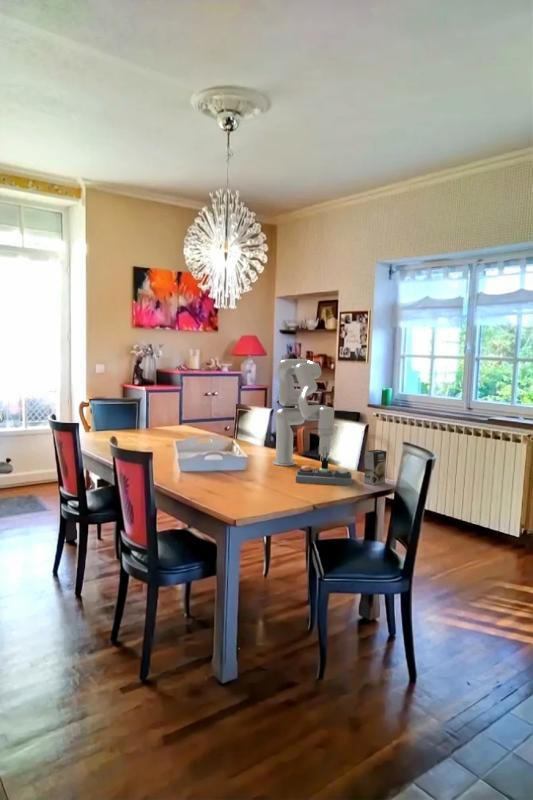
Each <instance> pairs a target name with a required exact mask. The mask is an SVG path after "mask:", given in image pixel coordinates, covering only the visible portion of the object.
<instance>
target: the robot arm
mask: <svg viewBox="0 0 533 800" xmlns="http://www.w3.org/2000/svg"><path fill="white" fill-rule="evenodd" d="M277 375H278V376H277V377H278V403H279V405H280V406H283V407H285V408H280V409H277V410H276V412H275V415H274V418H275V427H276V428H275V429H276V435H275V436H276V438H275V439H276V440H275V441H276V442H275V460H273V461H272V464H273V465H276V466H280V467H281V466H282V467H283V466H285V467H290V466H294V465H296V461H294V460H293V456H294V454H293V453H294V432H293V430H292V428H291V426H296V425H302V424H304V423H305V421H318V426H317V427H318V428H317V429H318V430H317V433H318V436H319V450H318V454H319V456H321V466H320V467H321V468H322V469H328V468H329V455H330V452H331V444H332V443H331V442H332V437H333V436H334V433H335V431H334V430H335V429H334V426H335V409H334V408H333V407H331V406H327V405H324V404H315V405H314V404H312V405H310V404H309V403H308V400H307V397H308V396H310V395H311V394H314V393H315V392H316V391H317V389H318V384H317V382H316V379H319V378H321V376H322V368H321V365H320V364H318V363H317V362H315V361H312V360H309V359H306V358H303V359H302V358H286V359H285V358H284V359H282V360H280V362H278V365H277ZM292 375H295V377H296V380H297V382H298V385H299V387H300V388H295V378H294V377H293V376H292ZM293 406H294V407H293ZM291 407H292V408H291Z"/></svg>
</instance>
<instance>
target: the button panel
mask: <svg viewBox="0 0 533 800" xmlns="http://www.w3.org/2000/svg"><path fill="white" fill-rule="evenodd" d="M352 479H353V478H352V472H351V471H348V473H347V474H339V473H337V470H334V471H333V470H330V469H329V473H320V472H319V469H313V468H311V471H310V472H304V471H301V468H298V470H297V473H296V475H295V483H300V482H301V483H303V484H305V483H306V484H316V483H320V484H319V485H331V484H336V486H346V485H351V486H352V483H353V482H352Z"/></svg>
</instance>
